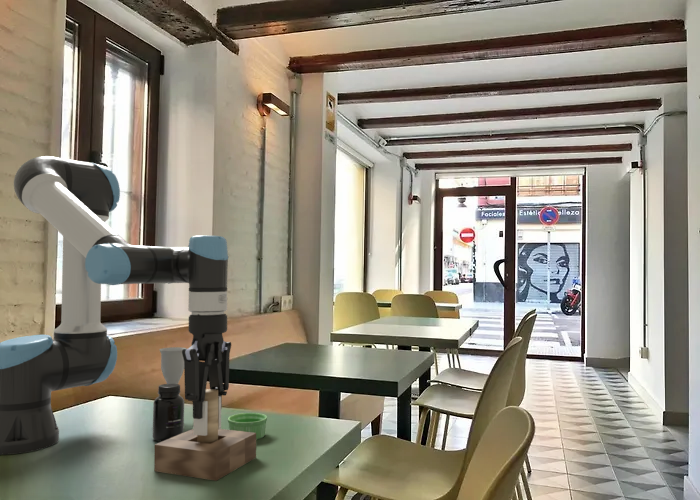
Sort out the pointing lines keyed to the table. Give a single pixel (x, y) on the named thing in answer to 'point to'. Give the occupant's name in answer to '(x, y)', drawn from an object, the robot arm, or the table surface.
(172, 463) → the socket block
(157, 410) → the supplement bottle
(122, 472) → the table surface
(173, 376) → the chalice
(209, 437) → the peg
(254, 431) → the ramekin
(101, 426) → the table surface
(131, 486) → the table surface
